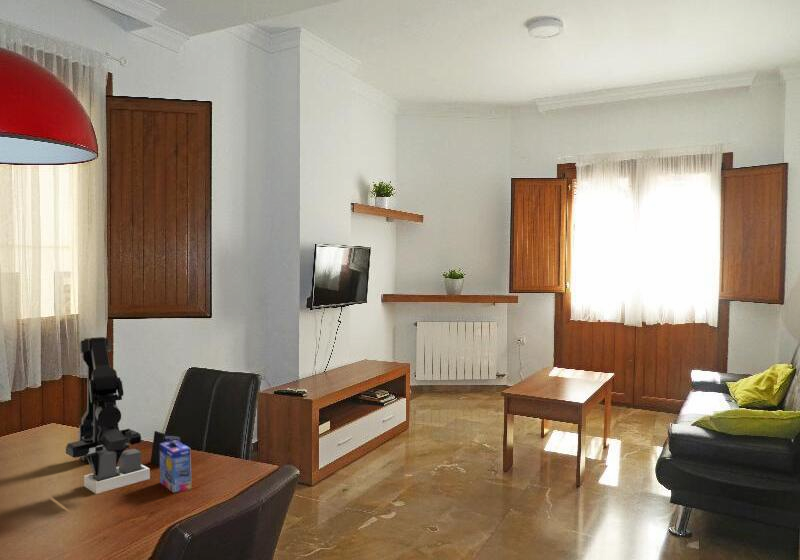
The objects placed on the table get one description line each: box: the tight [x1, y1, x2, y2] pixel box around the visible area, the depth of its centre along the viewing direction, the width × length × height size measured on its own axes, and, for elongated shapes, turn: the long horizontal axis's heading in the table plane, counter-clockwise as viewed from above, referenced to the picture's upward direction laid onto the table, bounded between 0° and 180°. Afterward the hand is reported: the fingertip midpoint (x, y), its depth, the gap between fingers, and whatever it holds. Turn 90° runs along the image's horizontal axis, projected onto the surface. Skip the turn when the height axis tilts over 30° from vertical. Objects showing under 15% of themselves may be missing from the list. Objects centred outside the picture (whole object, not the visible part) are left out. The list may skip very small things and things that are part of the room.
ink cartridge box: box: [159, 437, 192, 493], centre depth 169 cm, size 10×6×14 cm, turn 45°
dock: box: [83, 463, 151, 495], centre depth 170 cm, size 8×15×4 cm, turn 140°
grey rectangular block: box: [92, 449, 117, 481], centre depth 168 cm, size 4×4×8 cm
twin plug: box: [118, 448, 142, 474], centre depth 173 cm, size 4×4×8 cm
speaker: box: [150, 430, 181, 467], centre depth 187 cm, size 8×6×10 cm
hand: (104, 472), depth 168 cm, fingers closed on grey rectangular block, 4 cm apart
